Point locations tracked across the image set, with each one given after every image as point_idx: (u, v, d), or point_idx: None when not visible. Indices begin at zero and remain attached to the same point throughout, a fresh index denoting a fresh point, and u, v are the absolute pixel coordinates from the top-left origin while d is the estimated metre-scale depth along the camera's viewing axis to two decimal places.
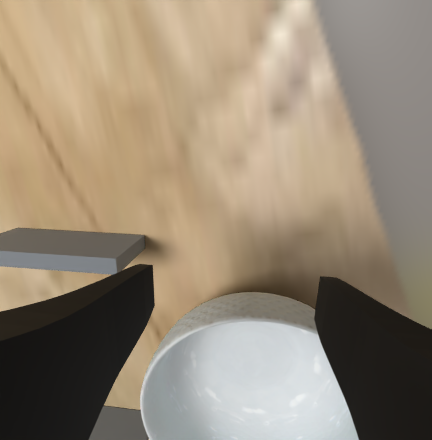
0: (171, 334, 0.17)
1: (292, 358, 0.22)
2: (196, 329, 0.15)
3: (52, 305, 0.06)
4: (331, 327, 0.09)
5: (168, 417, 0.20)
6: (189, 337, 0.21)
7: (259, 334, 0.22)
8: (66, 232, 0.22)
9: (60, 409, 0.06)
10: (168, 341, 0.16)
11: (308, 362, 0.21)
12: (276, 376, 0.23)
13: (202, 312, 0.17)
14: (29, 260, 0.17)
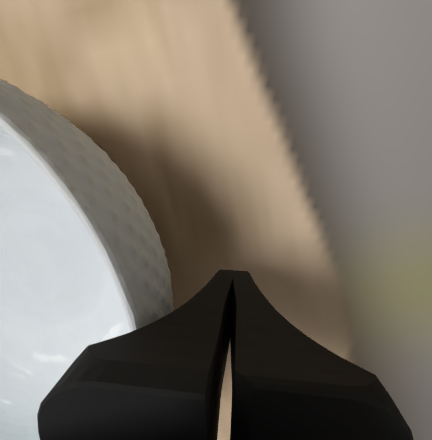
0: None
1: (98, 261, 0.13)
2: None
3: (187, 317, 0.06)
4: (231, 318, 0.09)
5: None
6: None
7: (38, 218, 0.12)
8: None
9: (214, 429, 0.05)
10: None
11: None
12: (82, 297, 0.13)
13: None
14: None
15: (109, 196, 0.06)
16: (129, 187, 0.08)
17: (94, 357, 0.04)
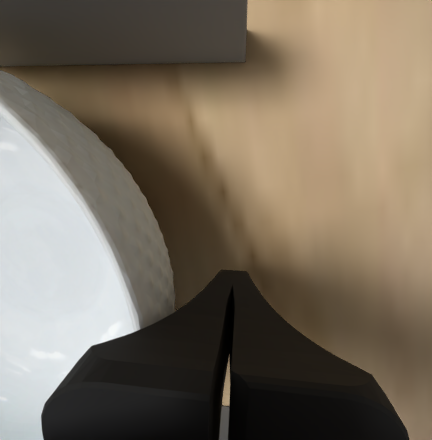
0: None
1: (99, 259, 0.12)
2: None
3: (190, 317, 0.06)
4: None
5: None
6: None
7: (39, 214, 0.12)
8: None
9: (216, 430, 0.05)
10: None
11: None
12: (82, 294, 0.13)
13: None
14: None
15: (115, 194, 0.06)
16: (134, 185, 0.08)
17: (98, 356, 0.04)
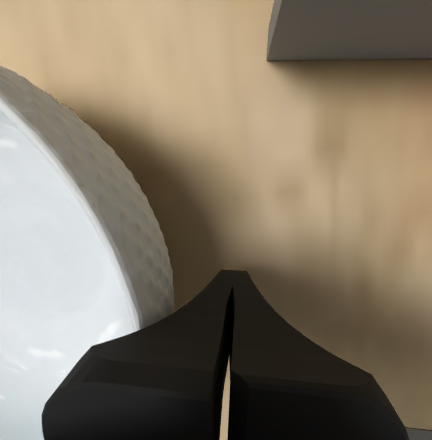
0: None
1: (98, 257, 0.12)
2: None
3: (190, 317, 0.06)
4: None
5: None
6: None
7: (38, 212, 0.12)
8: None
9: (217, 430, 0.05)
10: None
11: None
12: (81, 293, 0.13)
13: None
14: None
15: (116, 194, 0.06)
16: (135, 185, 0.08)
17: (98, 357, 0.04)
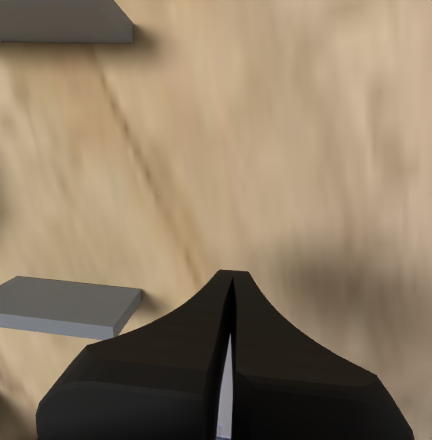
0: None
1: None
2: None
3: (186, 317, 0.06)
4: (232, 318, 0.09)
5: None
6: None
7: None
8: None
9: (213, 429, 0.05)
10: None
11: None
12: None
13: None
14: None
15: None
16: None
17: (93, 356, 0.04)
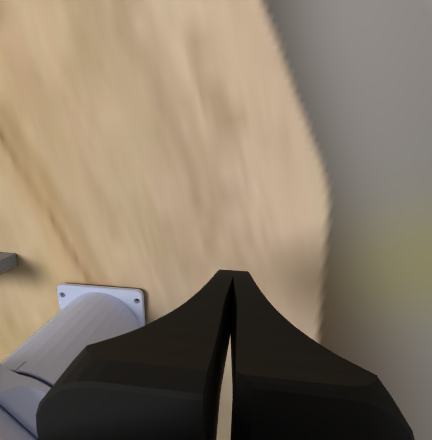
0: None
1: None
2: None
3: (186, 317, 0.06)
4: (232, 318, 0.09)
5: None
6: None
7: None
8: None
9: (213, 429, 0.05)
10: None
11: None
12: None
13: None
14: None
15: None
16: None
17: (93, 356, 0.04)
